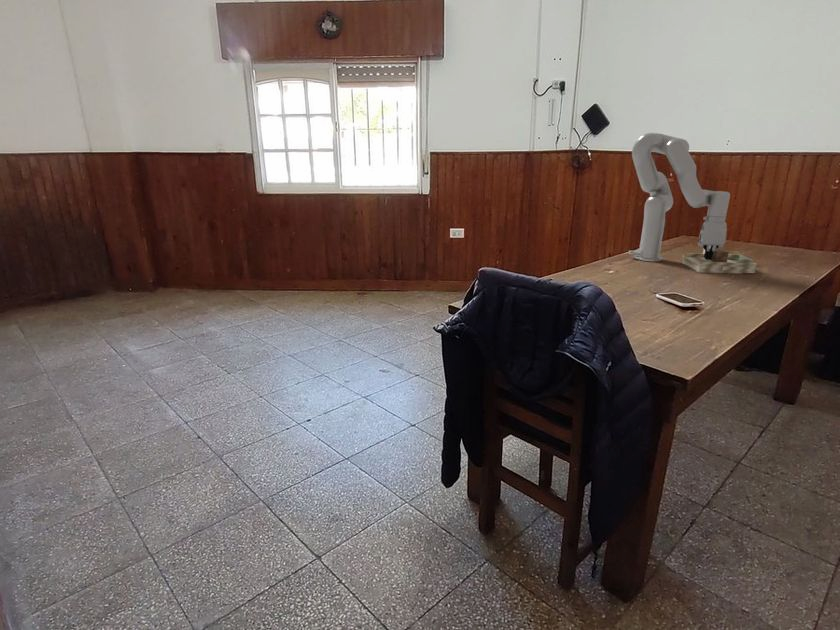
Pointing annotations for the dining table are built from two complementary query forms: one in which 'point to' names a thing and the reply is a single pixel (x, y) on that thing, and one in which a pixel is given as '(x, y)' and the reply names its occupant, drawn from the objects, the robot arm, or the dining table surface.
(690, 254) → the tray
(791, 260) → the dining table surface
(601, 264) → the dining table surface
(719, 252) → the walnut block
